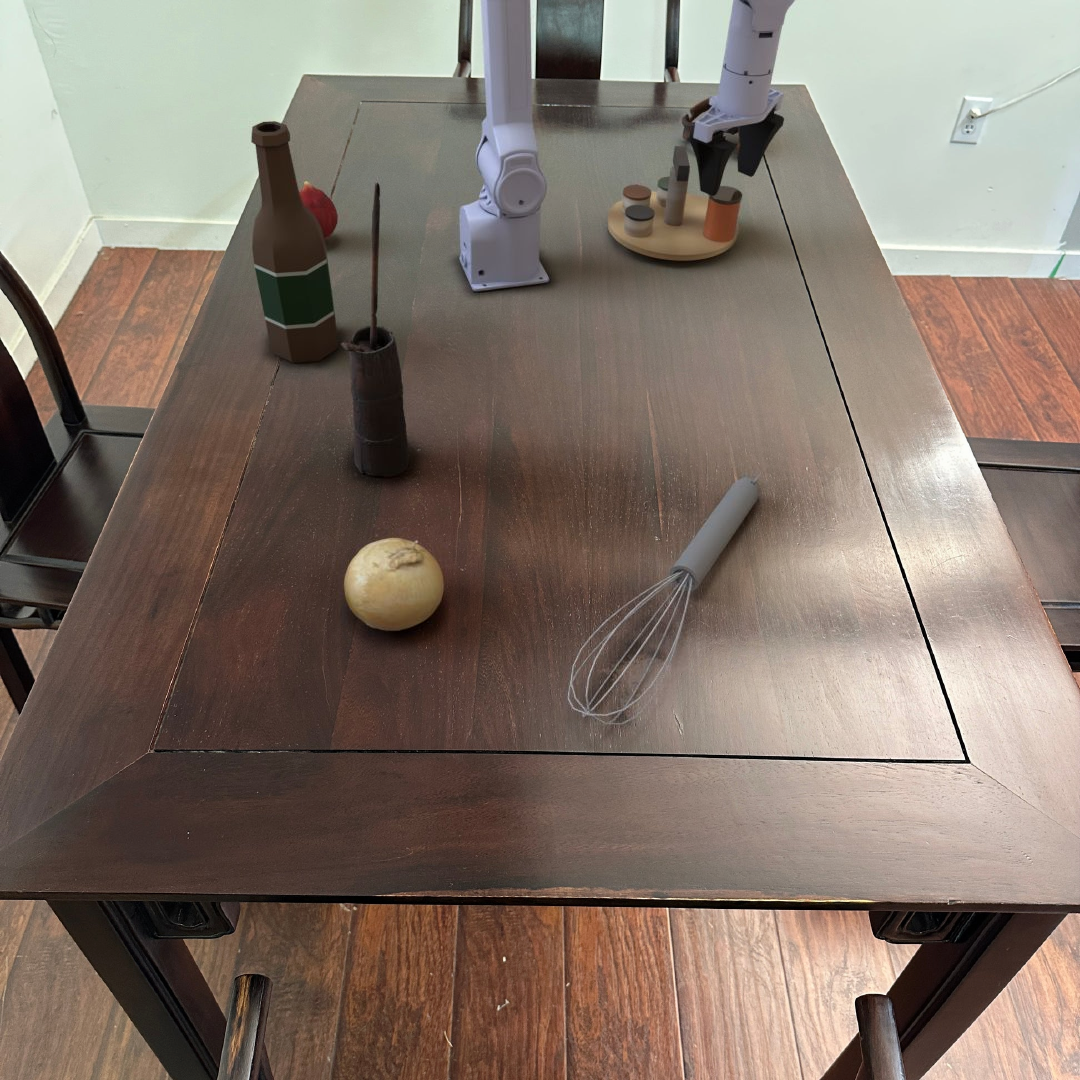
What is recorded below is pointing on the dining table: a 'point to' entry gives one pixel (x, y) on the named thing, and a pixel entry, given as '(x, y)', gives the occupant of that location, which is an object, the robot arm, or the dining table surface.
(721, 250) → the spice carousel
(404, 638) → the dining table surface
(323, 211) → the onion
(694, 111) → the brown curled loops
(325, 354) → the beer bottle
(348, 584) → the onion
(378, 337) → the butter churn
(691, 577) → the kitchen whisk
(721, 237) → the spice jar
